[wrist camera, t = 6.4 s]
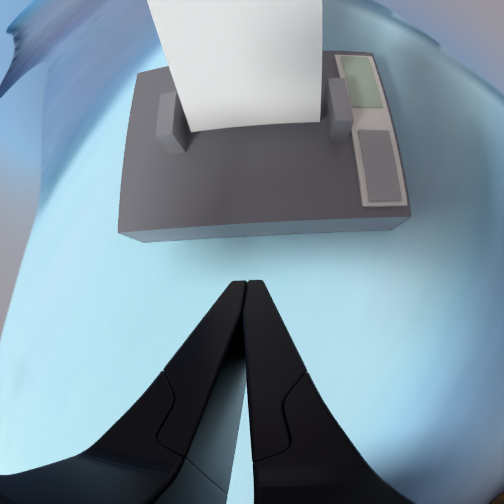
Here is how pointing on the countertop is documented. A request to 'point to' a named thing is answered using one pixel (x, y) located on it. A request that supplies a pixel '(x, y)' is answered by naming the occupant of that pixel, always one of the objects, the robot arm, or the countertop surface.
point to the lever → (243, 60)
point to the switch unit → (264, 164)
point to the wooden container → (499, 500)
